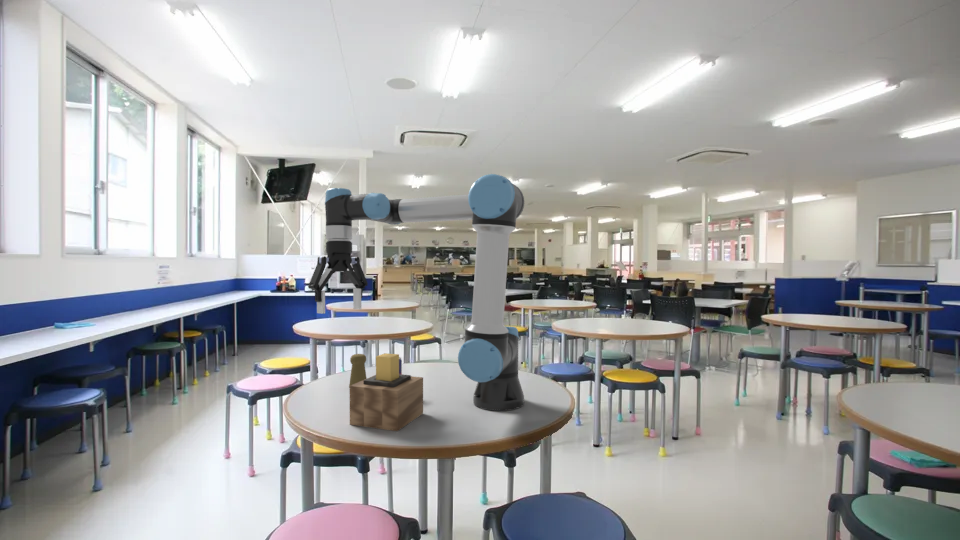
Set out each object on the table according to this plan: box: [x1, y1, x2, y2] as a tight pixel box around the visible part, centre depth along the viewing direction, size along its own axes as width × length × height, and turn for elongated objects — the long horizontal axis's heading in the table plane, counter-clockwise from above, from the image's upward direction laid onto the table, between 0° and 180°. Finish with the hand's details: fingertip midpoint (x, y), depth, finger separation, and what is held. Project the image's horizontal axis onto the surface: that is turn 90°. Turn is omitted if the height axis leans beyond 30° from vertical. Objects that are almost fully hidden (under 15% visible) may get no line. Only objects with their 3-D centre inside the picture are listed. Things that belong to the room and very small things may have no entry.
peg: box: [375, 353, 400, 381], centre depth 118 cm, size 4×4×9 cm
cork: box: [348, 353, 368, 389], centre depth 149 cm, size 6×6×11 cm
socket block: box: [349, 373, 424, 432], centre depth 118 cm, size 14×14×11 cm
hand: (340, 311), depth 133 cm, fingers open, 13 cm apart
